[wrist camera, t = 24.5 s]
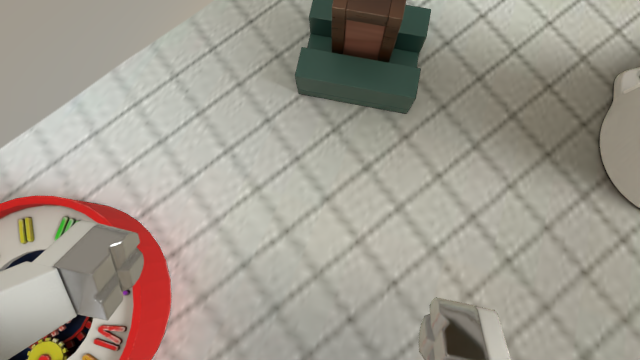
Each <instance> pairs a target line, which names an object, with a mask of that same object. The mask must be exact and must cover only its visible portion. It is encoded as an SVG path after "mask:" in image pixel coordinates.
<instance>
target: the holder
mask: <svg viewBox="0 0 640 360" xmlns="http://www.w3.org/2000/svg"><path fill="white" fill-rule="evenodd" d="M332 4H333V0H313V2H312V7H311V11H310V15H309V21H310V32H311V34H310V39H309V43H308V47H307V48H303V47H302V48H301V52H300V57H299V61H298V65H297V69H296V73H295V79H296V84H297V89H298V93H299V94H304V95H309V96H314V97H320V98H325V99H330V100H336V101H341V102H346V103H352V104H357V105H362V106H368V107H373V108H378V109H384V110H389V111H395V112H400V113H405V114H407V112H408V111H409V109H410V107H411V106H412V104H413V102H414V100H415V99H416V94H417V88H418V82H419V77H420V71H421V68H417V62H418V57H419V52H420V50H421V48H422V46H423V43H424V41H425V39H426V36H427V31H428V25H429V19H430V13H431V9H427V8H421V7H415V6H409V5H405V10H404V15H403V20H402V23H401V26H400V29H399V33H398V36H397V39H396V42H395V45H394V48H393V52H392V55H391V58H390V61H389V63H387V62H382V61H376V60H370V59H365V58H359V57H354V56H348V55H343V54H337V53H332Z"/></svg>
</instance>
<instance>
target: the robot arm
mask: <svg viewBox="0 0 640 360" xmlns="http://www.w3.org/2000/svg"><path fill="white" fill-rule="evenodd" d="M639 78H640V68H635V69H630V70H627V71H625V72H623V73H621V74H619V75H618V76H617V77H616V79H615V83H614V100H613V103H612V105H611V107H610V109H609V111H608V113H607V115H606V116H605V119H604V121H603V124H602V127H601V132H600V152H601V157H602V161H603V164H604V167H605V169H606V171H607V173H608V175H609V177H610V179H611V180H612V182H613V183H614V185H615V186H616V188H617V189H618V190H619V191H620V192H621V193H622V194H623V195H624V196H625V197H626V198H627V199H628V200H629V201H630V202H632V203H633V204H634V205H636V206H637V207H639V208H640V79H639ZM139 243H140V239H139V235H138V233H135V232H132V231H128V230H124V229H120V228H116V227H112V226H108V225H104V224H99V223H95V222H90V221H86V220H81V221H79V222H76V223H75V224H74V225H73V226H72V227H70V228H69V229H68V230H67V231H66V232H65V233H64V234H63V235H62V236H60V237H59V238H58V239H57V240H56V241H55V242H54V243H53V244H52V245H50V246H49V247H48V248H47V249H46V250H45V251H44V252H43V253H42V254H40V255H39V256H38V257H37V258H36V259H35V260H34V261H33V262H28V261H26V262H23V263H21V264H18V265H15V266H13V267H10V268H8V269H5V270H3V271H0V360H8V359H10V358H11V357H13V356H15V355H16V354H18V353H19V352H21V351H22V350H24V349H26V348H27V347H29V346H30V345H32V344H34V343H35V342H37V341H38V340H40V339H41V338H43V337H45V336H46V335H48V334H49V333H51V332H53V331H54V330H56V329H57V328H59V327H61V326H62V325H64V324H65V323H67V322H68V321H70V320H72V319H73V318H75V317H76V316H77V315H76V314H78V315H83V316H88V317H93V318H97V319H102V320H107V321H108V320H109V318H110V317H111V316H112V314H113V313H114V312H115V310H116V309H117V308H118V306H119V305H120V304H121V302H122V301H123V291H125V290H127V289H129V288H131V287H133V286H134V285H135V283H136V282H137V280H138V279H139V277H140V275H141V272H142V270H143V266H144V257H143V253H142V252H141V251H140V250H139V249H138V248H137V246H138V244H139ZM419 352H420V354H421V355H422V357H423V358H424V360H511V358H510V355H509V351H508V348H507V344H506V341H505V337H504V334H503V330H502V327H501V323H500V320H499V316H498V314H497V312H496V311H495V310H492V309H487V308H483V307H478V306H473V305H470V304H465V303H460V302H456V301H451V300H446V299H441V298H434V299H433V300H432V302H431V304H430V314H428V315H426V316H424V319H423V321H422V323H421V327H420V332H419Z"/></svg>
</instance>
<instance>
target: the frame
mask: <svg viewBox="0 0 640 360" xmlns="http://www.w3.org/2000/svg"><path fill="white" fill-rule="evenodd" d="M405 5H406V0H333V4H332V53H337V54H343V55H348V56H354V57H359V58H365V59H370V60H376V61H382V62H387V63H389V61H390V58H391V55H392V52H393V48H394V45H395V42H396V39H397V36H398V33H399V29H400V26H401V23H402V20H403V15H404V10H405Z"/></svg>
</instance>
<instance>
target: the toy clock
mask: <svg viewBox="0 0 640 360" xmlns="http://www.w3.org/2000/svg"><path fill="white" fill-rule="evenodd" d="M81 220H86V221H90V222H95V223H99V224H104V225H108V226H112V227H116V228H120V229H124V230H128V231H132V232H135V233H138V235H139V239H140V243H139V244H138V246H137V248H138V249H139V250H140V251H141V252H142V253H143V257H144V266H143V270H142V272H141V275H140V277H139V279H138V280H137V282H136V283H135V285H134V286H133V287H131V288H129V289H127V290H125V291H123V301H122V302H121V304H120V305H119V306H118V308H117V309H116V310H115V312H114V313H113V314H112V316H111V317H110V318H109V320H108V321H107V320H102V319H97V318H93V317H88V316H83V315H78V314H76V315H77V316H76V317H75V318H73V319H72V320H70V321H68V322H67V323H65V324H64V325H62V326H61V327H59V328H57V329H56V330H54V331H53V332H51V333H49V334H48V335H46V336H45V337H43V338H41V339H40V340H38V341H37V342H35V343H34V344H32V345H30V346H29V347H27V348H26V349H24V350H22V351H21V352H19V353H18V354H16V355H15V356H13V357H11V358H10V359H8V360H151V359H152V358H153V356H154V354H155V353H156V351H157V350H158V347H159V345H160V343H161V341H162V338H163V336H164V334H165V331H166V327H167V323H168V319H169V316H170V307H171V297H172V295H171V281H170V275H169V271H168V267H167V263H166V260H165V258H164V256H163V253H162V251H161V249H160V247H159V245H158V244H157V242H156V241H155V239H154V238H153V236H152V235H151V233H150V232H149V231H148V230H147V229H146V228H145V227H144V226H143V225H142V224H141V223H140V222H138V221H137V220H135V219H134V218H132V217H131V216H129V215H128V214H126V213H124V212H122V211H120V210H117V209H115V208H112V207H109V206H104V205H99V204H94V203H89V202H83V201H78V200H72V199H66V198H61V197H55V196H30V197H23V198H16V199H13V200H10V201H7V202H4V203H1V204H0V271H3V270H5V269H8V268H10V267H13V266H15V265H18V264H21V263H23V262H26V261H28V262H33V261H34V260H35V259H36V258H37V257H38V256H39V255H40V254H42V253H43V252H44V251H45V250H46V249H47V248H48V247H49V246H50V245H52V244H53V243H54V242H55V241H56V240H57V239H58V238H59V237H60V236H62V235H63V234H64V233H65V232H66V231H67V230H68V229H69V228H70V227H72V226H73V225H74V224H75V223H76V222H79V221H81Z"/></svg>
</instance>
